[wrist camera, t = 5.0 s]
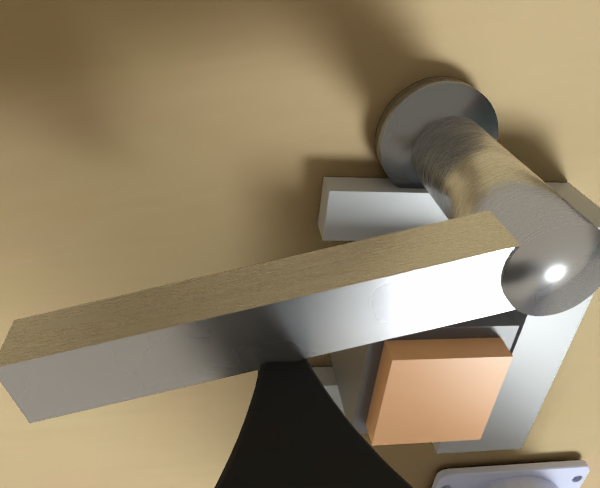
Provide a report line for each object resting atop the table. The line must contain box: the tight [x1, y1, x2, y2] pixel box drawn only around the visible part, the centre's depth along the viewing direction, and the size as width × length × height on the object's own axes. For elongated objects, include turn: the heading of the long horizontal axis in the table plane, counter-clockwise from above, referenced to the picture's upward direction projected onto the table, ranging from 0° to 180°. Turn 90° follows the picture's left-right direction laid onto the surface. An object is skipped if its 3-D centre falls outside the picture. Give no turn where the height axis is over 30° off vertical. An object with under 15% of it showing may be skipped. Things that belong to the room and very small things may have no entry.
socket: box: [312, 177, 600, 454], centre depth 19 cm, size 10×8×3 cm
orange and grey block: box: [329, 311, 519, 446], centre depth 18 cm, size 4×4×5 cm
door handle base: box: [375, 77, 498, 189], centre depth 17 cm, size 4×4×1 cm
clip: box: [0, 116, 600, 423], centre depth 13 cm, size 12×2×6 cm, turn 101°
